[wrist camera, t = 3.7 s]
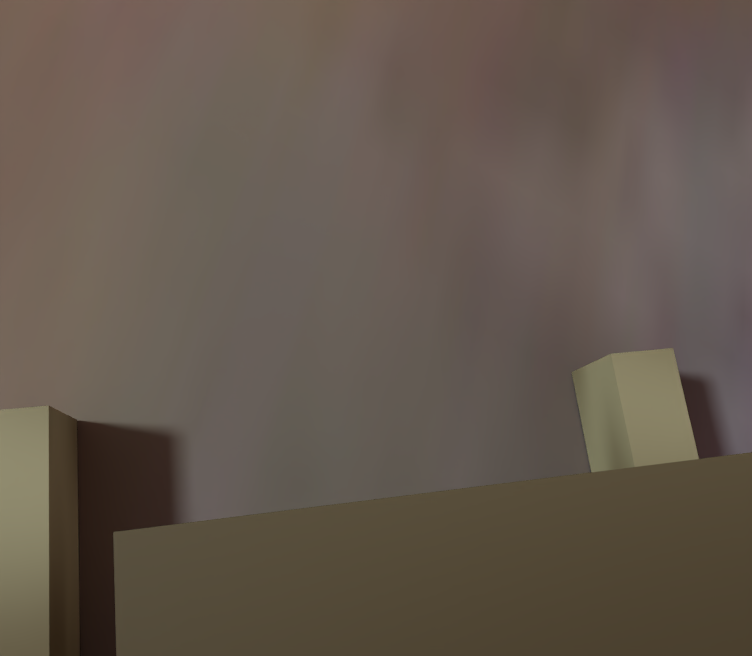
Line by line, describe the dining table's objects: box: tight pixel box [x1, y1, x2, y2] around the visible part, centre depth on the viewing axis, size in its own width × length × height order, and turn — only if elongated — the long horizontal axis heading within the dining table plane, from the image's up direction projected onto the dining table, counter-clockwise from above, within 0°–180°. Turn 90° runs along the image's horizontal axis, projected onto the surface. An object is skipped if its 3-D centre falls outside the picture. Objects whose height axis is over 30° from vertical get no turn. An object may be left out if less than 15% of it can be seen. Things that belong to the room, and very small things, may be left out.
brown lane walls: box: [0, 348, 699, 656], centre depth 14 cm, size 10×14×2 cm
